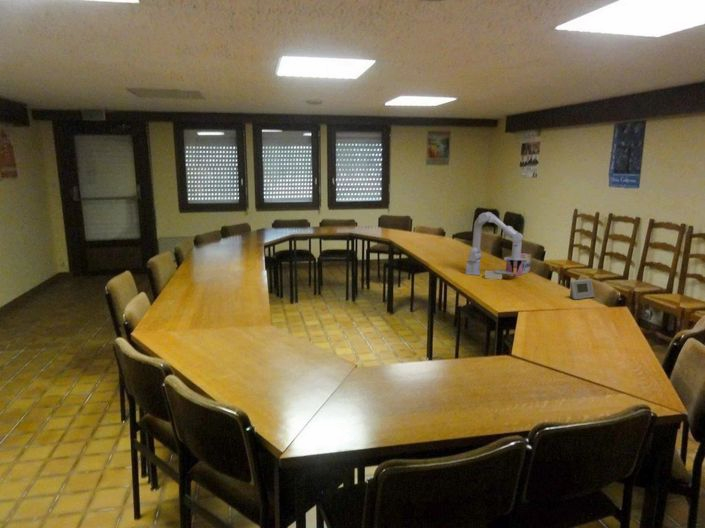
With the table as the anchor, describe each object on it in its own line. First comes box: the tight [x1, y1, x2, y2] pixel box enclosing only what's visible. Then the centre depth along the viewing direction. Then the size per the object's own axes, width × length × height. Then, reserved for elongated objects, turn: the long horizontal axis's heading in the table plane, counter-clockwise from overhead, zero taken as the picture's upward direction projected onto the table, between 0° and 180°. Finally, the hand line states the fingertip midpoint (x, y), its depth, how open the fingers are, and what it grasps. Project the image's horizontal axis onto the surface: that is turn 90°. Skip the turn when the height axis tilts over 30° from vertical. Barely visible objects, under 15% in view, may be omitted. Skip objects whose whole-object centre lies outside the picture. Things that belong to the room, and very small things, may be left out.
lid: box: [494, 267, 517, 275], centre depth 321 cm, size 14×9×4 cm, turn 74°
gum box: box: [505, 251, 532, 277], centre depth 338 cm, size 24×8×14 cm, turn 135°
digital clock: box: [569, 278, 595, 300], centre depth 277 cm, size 16×9×11 cm, turn 102°
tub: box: [484, 270, 503, 280], centre depth 324 cm, size 11×8×4 cm
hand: (514, 271), depth 320 cm, fingers closed on lid, 2 cm apart
